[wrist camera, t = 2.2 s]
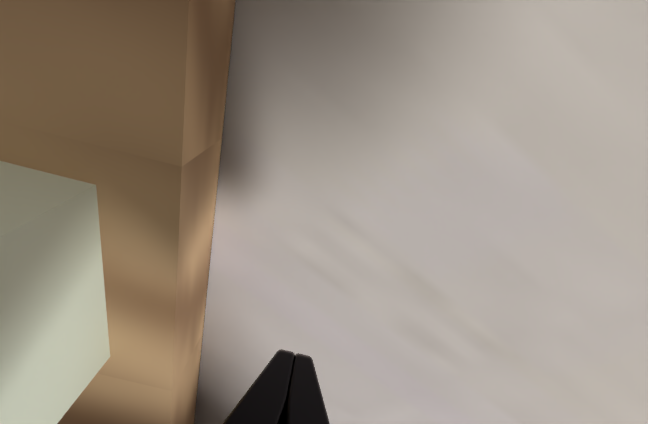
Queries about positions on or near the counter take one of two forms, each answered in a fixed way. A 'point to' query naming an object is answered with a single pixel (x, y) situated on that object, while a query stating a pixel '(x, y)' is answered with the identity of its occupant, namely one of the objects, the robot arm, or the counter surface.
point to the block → (48, 294)
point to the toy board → (129, 172)
